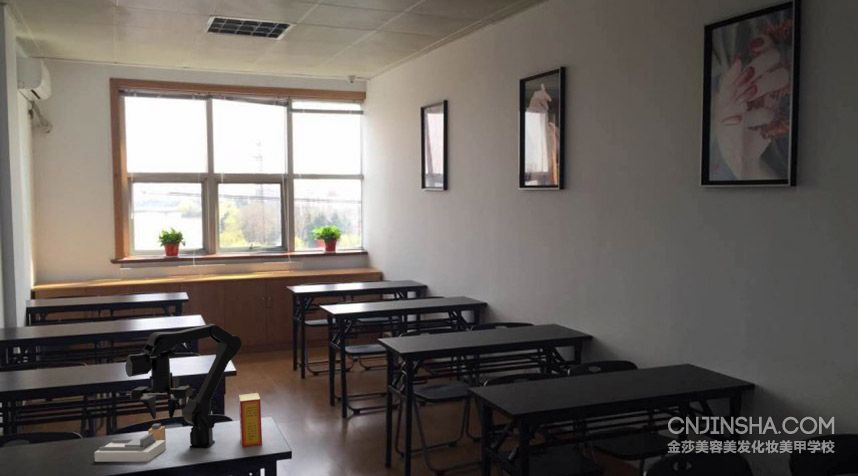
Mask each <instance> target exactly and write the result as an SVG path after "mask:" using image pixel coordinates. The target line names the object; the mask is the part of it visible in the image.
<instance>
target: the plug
mask: <svg viewBox="0 0 858 476" xmlns="http://www.w3.org/2000/svg"><path fill="white" fill-rule="evenodd" d="M147 430H148V432H147V435H148V434H149V433H153V436H154V439H156V440H167V439H166V436H167V435H166V426H165V425H163V426H162V423H153V424H152V425H151V427H150V428H149V429H147Z"/></svg>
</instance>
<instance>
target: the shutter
mask: <svg viewBox="0 0 858 476" xmlns="http://www.w3.org/2000/svg"><path fill="white" fill-rule="evenodd" d="M132 439H133V440H132V441H130V442H128V443H127V444H125V447H144V448H145V447H147V446H148V445H150V444H152V443H153V442H154V436H153V433H149V434H148V433H147V434H146V435H144V436H143V437H142V438H132Z"/></svg>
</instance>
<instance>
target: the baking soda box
mask: <svg viewBox="0 0 858 476" xmlns="http://www.w3.org/2000/svg"><path fill="white" fill-rule="evenodd" d="M261 408H262V406H261V397H260V394H259V392H251V393H243V394H238V409H239V411H238V412H239V413H238V414H239V434H240V435H239V436H240V445H241V447H242V449H244V448H249V447H250V448H251V447H252V448H253V447H258V446H263V435H262V433H263V432H262V413H261V411H262V410H261Z"/></svg>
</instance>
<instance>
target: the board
mask: <svg viewBox="0 0 858 476" xmlns="http://www.w3.org/2000/svg"><path fill="white" fill-rule="evenodd" d="M133 439H134V438H126V439H125V438H123V439H122V438H113V439H112V440H111V442H110V443H108V444H105V446H104V445H103V446H99V447H98V450H96V451H94V452H93V453H94V462H97V463H98V462H99V463H101V462H107V463H109V462H135V463H136V462H137V463H139V462H143V463H144V462H148V463H149V462H150V461H151V460H153V459H154V458H156V457H157V456H158V455H160V454H161V453H162V452H164V451H166V450H167V441H166V440H167V439H166V440H156V439H154V442H153V443H152V444H150V445H148V446H147V447H145V448H144V447H125V444H127V443H128V442H130V441H132V440H133Z"/></svg>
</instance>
